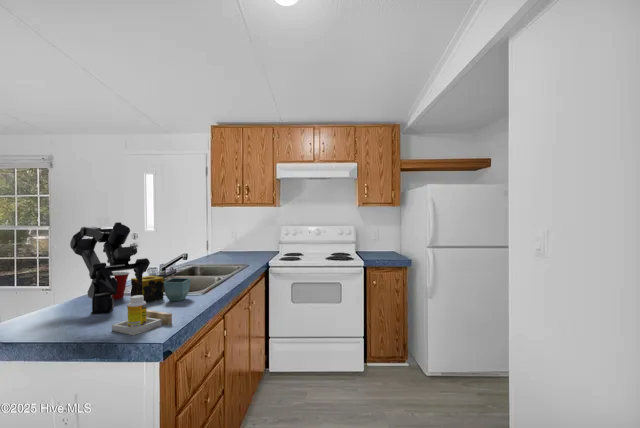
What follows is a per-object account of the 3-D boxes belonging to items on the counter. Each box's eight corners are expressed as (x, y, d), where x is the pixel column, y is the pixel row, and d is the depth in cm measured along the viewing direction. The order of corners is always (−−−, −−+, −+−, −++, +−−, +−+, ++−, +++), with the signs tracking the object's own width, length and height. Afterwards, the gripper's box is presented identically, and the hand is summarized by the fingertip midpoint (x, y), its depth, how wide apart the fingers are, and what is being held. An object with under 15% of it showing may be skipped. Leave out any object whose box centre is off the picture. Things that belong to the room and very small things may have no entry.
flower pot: (183, 302, 146) (182, 282, 146) (163, 302, 147) (163, 282, 147) (191, 297, 155) (191, 278, 155) (172, 297, 155) (172, 278, 155)
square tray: (111, 331, 111) (111, 325, 111) (140, 321, 121) (140, 316, 121) (133, 335, 107) (133, 329, 107) (161, 325, 116) (161, 319, 116)
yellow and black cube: (130, 300, 150) (129, 278, 150) (152, 296, 159) (152, 275, 159) (141, 304, 144) (141, 281, 144) (164, 299, 153) (164, 277, 153)
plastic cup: (135, 296, 158) (135, 270, 158) (114, 302, 148) (114, 274, 148) (118, 294, 161) (117, 269, 161) (96, 300, 151) (96, 273, 151)
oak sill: (140, 319, 123) (140, 310, 123) (143, 318, 124) (143, 309, 124) (168, 324, 117) (168, 314, 117) (171, 323, 118) (171, 313, 118)
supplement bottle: (144, 328, 112) (144, 297, 112) (125, 330, 110) (125, 299, 110) (147, 323, 117) (147, 293, 117) (130, 324, 116) (130, 295, 116)
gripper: (91, 240, 116) (103, 276, 109) (147, 237, 130) (161, 268, 123) (84, 261, 121) (95, 296, 114) (138, 256, 135) (151, 287, 128)
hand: (127, 286), depth 119 cm, fingers open, 9 cm apart
